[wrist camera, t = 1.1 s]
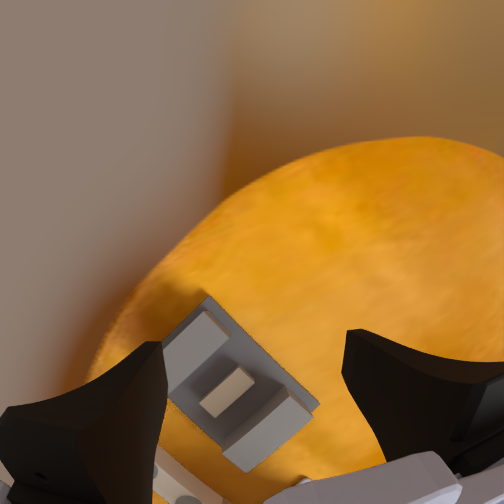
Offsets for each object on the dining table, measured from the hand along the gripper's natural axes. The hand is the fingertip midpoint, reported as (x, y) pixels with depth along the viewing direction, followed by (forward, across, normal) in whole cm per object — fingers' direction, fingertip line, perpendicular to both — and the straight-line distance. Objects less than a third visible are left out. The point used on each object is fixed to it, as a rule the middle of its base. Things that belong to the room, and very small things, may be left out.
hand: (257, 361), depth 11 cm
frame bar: (+12, +8, +22) cm, 26 cm away
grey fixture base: (+15, +1, +12) cm, 20 cm away
